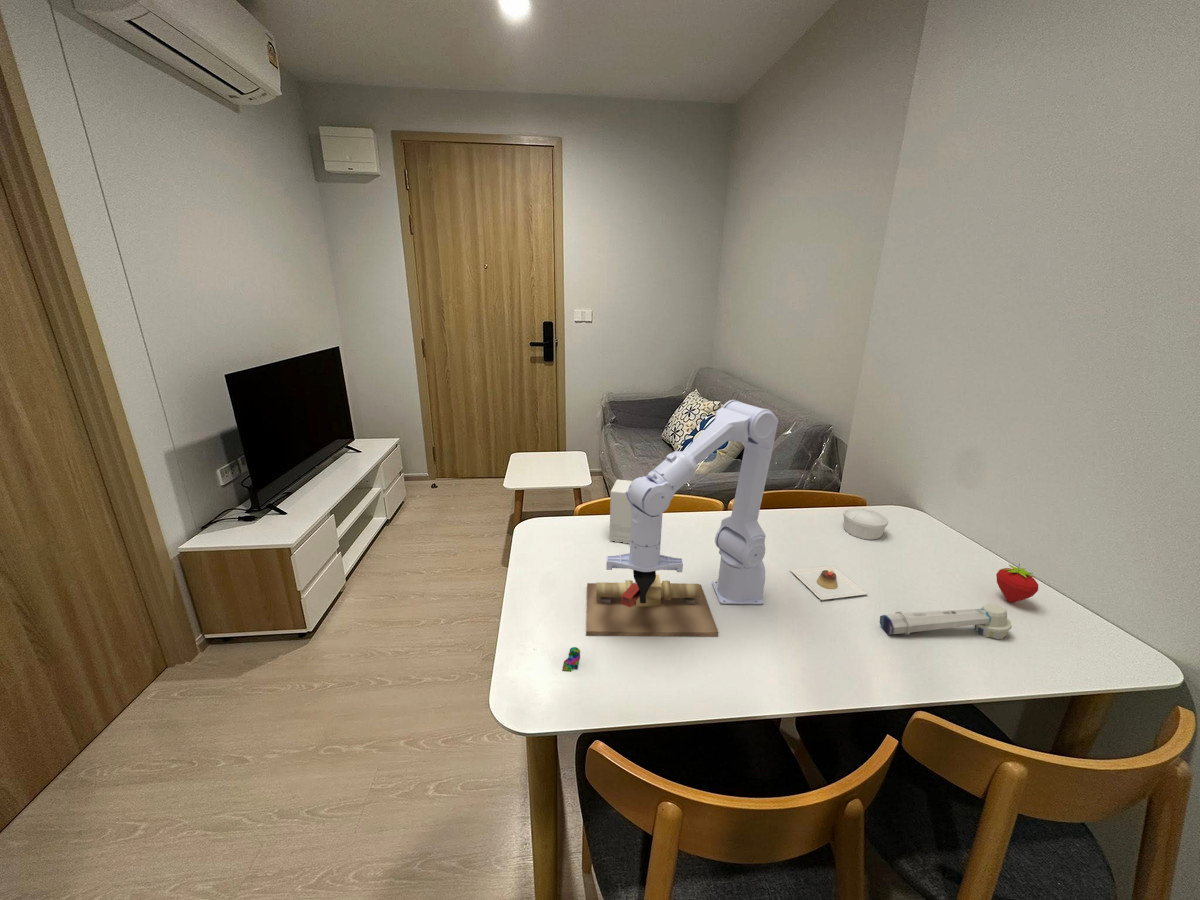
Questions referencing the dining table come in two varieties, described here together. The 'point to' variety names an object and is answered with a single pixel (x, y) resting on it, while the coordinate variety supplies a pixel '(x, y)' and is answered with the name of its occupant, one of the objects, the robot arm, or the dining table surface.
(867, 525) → the ramekin
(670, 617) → the valve board
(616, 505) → the supplement box
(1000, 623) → the toothbrush head
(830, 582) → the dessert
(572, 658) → the puzzle cube
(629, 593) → the valve lever
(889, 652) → the dining table surface
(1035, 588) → the strawberry
